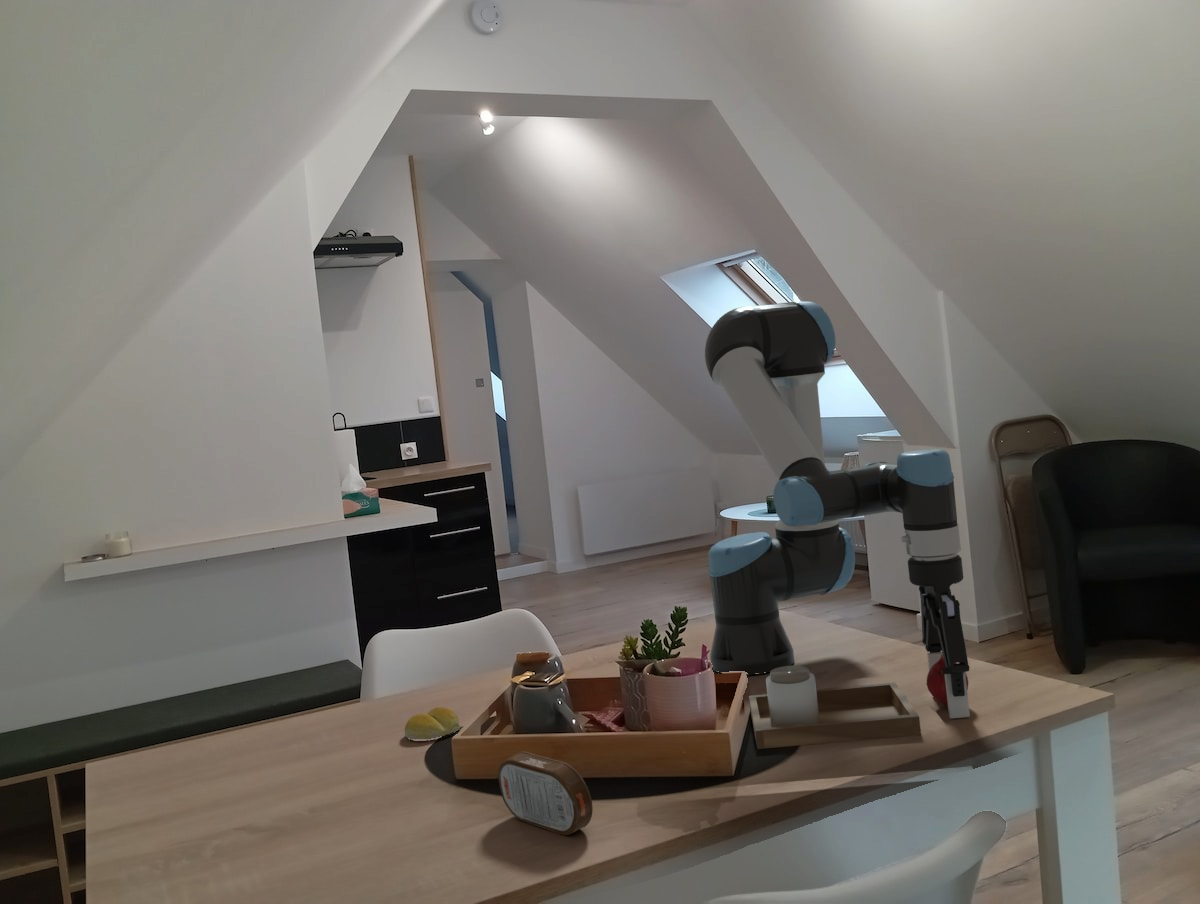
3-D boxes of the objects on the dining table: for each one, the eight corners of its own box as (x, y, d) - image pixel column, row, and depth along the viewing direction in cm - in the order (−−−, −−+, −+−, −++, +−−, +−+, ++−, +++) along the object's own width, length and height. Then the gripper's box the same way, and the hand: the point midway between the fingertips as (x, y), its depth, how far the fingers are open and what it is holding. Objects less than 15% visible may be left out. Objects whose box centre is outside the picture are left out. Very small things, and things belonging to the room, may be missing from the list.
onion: (976, 710, 144) (971, 656, 143) (936, 715, 144) (930, 661, 143) (963, 698, 149) (957, 646, 149) (924, 703, 150) (918, 651, 149)
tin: (598, 834, 118) (589, 765, 118) (579, 845, 116) (570, 774, 115) (517, 808, 129) (509, 744, 128) (498, 817, 127) (490, 752, 126)
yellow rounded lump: (398, 737, 165) (395, 713, 165) (447, 722, 170) (444, 699, 170) (418, 748, 158) (414, 723, 158) (468, 732, 163) (465, 708, 163)
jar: (769, 719, 148) (763, 666, 147) (816, 715, 147) (810, 662, 147) (773, 736, 141) (766, 680, 140) (823, 731, 140) (816, 675, 140)
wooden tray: (751, 718, 152) (748, 695, 152) (897, 705, 150) (895, 682, 150) (758, 755, 136) (755, 730, 136) (921, 741, 134) (919, 716, 134)
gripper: (892, 546, 157) (907, 685, 158) (925, 571, 135) (943, 733, 136) (941, 541, 156) (956, 681, 157) (982, 565, 134) (999, 728, 135)
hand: (950, 705), depth 146 cm, fingers open, 10 cm apart
